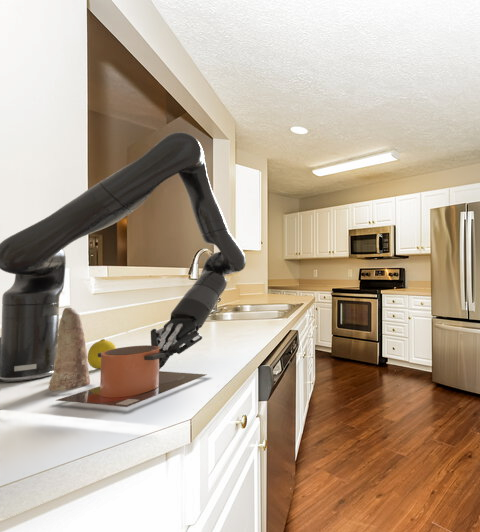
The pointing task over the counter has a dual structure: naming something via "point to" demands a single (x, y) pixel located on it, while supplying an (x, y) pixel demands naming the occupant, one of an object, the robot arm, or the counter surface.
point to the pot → (129, 370)
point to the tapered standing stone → (70, 354)
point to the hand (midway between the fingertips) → (153, 367)
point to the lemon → (98, 348)
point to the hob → (165, 383)
